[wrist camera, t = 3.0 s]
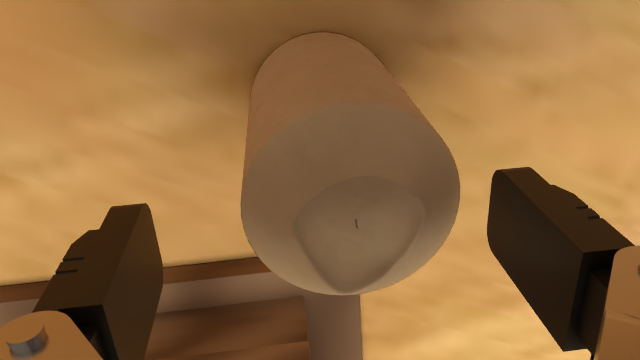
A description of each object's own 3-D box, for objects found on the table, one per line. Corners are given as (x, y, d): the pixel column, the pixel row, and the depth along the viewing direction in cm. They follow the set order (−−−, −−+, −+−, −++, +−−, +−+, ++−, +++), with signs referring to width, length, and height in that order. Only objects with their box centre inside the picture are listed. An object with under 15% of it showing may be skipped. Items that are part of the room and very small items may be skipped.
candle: (359, 179, 22) (420, 352, 13) (233, 143, 21) (209, 307, 12) (411, 57, 20) (526, 166, 11) (274, 9, 19) (282, 89, 10)
